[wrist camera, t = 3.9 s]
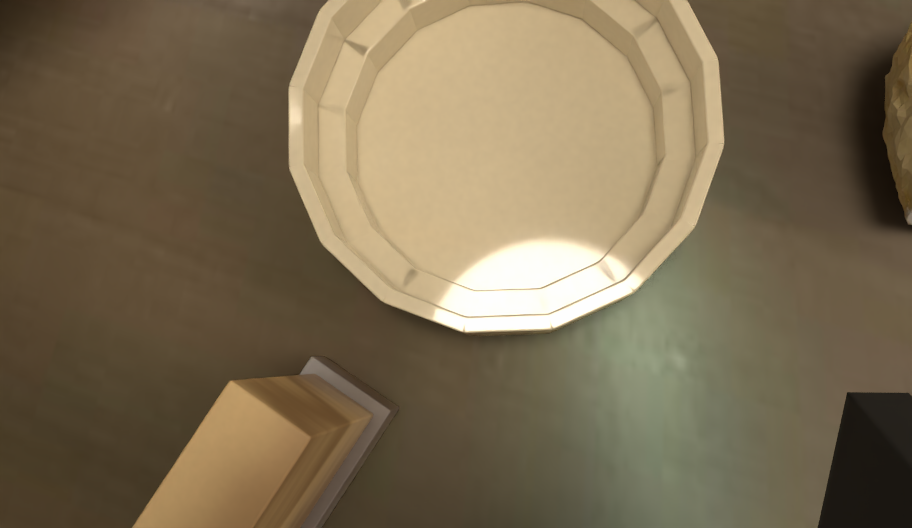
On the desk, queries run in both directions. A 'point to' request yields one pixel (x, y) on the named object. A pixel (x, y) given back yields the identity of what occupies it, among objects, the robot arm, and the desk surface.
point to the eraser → (273, 452)
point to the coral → (900, 121)
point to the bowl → (504, 151)
